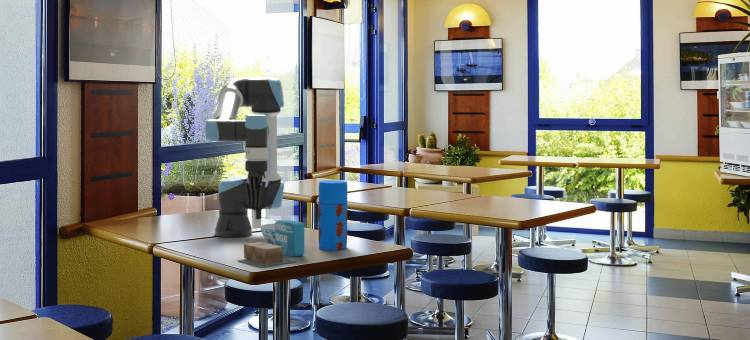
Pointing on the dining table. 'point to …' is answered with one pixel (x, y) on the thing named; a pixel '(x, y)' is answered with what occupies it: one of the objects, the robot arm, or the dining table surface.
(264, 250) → the block
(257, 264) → the mat
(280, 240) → the data package
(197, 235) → the dining table surface
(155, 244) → the dining table surface
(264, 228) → the chinaware
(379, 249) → the dining table surface
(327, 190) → the thermos
